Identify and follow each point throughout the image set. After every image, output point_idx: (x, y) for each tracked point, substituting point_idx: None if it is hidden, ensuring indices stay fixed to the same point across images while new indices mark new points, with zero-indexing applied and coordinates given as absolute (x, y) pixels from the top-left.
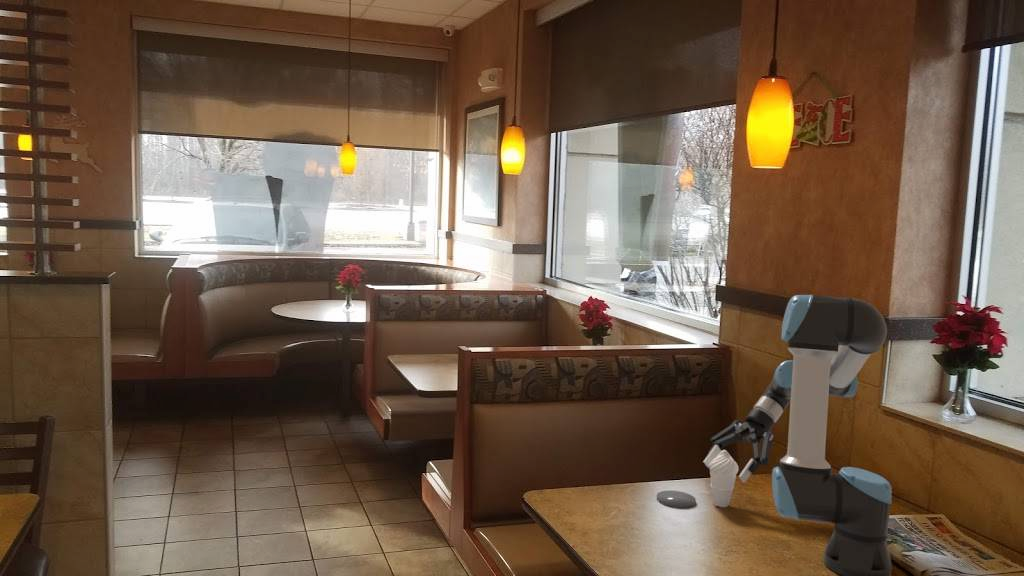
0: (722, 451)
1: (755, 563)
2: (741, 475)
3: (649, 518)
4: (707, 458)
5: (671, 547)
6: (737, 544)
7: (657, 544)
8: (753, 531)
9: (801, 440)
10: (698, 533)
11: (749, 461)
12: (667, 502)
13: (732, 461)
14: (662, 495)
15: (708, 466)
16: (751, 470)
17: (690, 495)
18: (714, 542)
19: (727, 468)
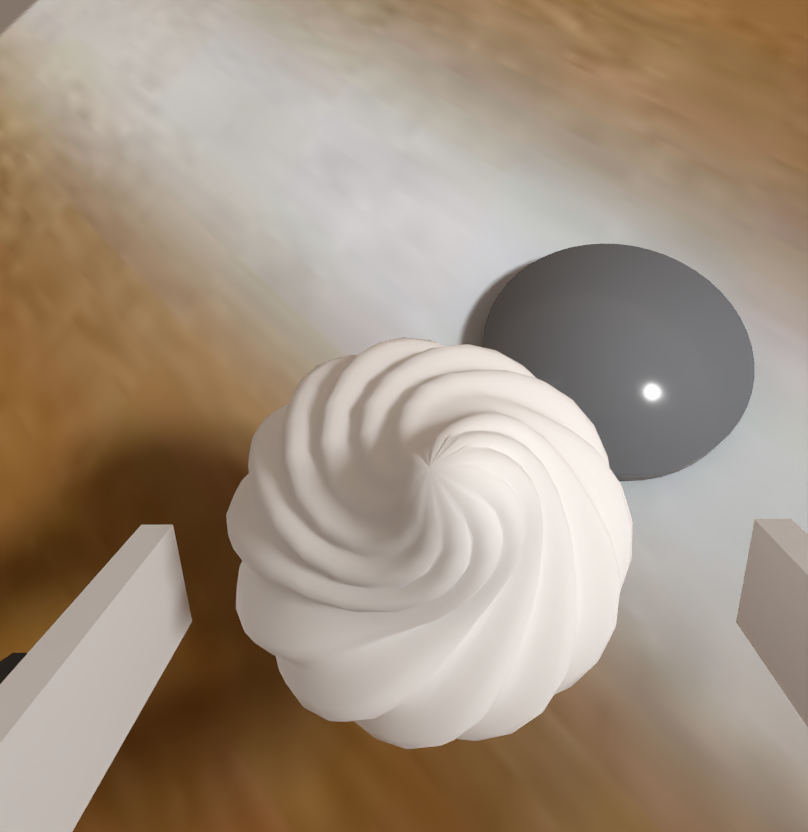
0: (465, 429)
1: None
2: (132, 538)
3: (444, 108)
4: (795, 558)
5: (173, 36)
6: (6, 261)
7: (222, 12)
8: (29, 451)
9: None
10: (197, 189)
11: (14, 716)
12: (557, 252)
13: (274, 520)
14: (673, 293)
15: (741, 606)
16: (9, 663)
17: (617, 461)
18: (91, 189)
19: (271, 420)
